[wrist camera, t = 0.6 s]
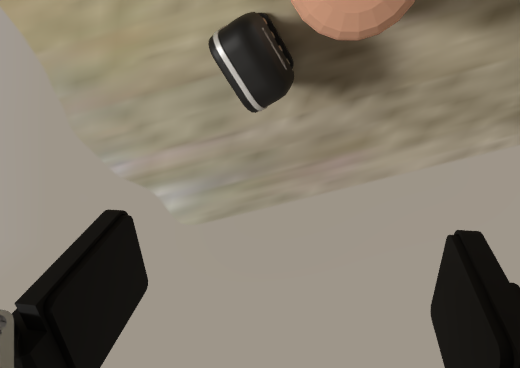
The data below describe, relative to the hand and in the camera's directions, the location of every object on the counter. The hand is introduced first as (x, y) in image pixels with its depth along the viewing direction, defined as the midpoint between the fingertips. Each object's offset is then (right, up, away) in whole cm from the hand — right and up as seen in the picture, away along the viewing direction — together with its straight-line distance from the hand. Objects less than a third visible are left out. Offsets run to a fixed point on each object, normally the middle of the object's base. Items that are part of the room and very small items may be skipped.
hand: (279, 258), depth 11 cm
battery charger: (+1, +16, +26) cm, 31 cm away
